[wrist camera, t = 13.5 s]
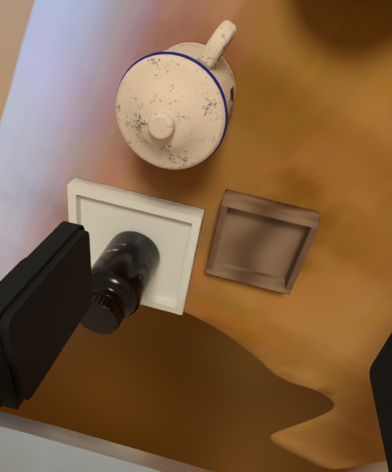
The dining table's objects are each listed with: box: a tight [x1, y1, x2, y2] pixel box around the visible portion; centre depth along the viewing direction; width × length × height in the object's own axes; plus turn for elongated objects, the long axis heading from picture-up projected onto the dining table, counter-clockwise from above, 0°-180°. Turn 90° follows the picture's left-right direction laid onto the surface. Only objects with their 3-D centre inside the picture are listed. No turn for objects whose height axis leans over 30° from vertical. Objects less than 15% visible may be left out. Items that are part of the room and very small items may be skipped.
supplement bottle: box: [80, 231, 160, 335], centre depth 43 cm, size 7×7×12 cm
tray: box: [67, 178, 205, 315], centre depth 48 cm, size 16×16×2 cm
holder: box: [206, 189, 320, 295], centre depth 43 cm, size 10×10×2 cm
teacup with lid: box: [115, 20, 236, 170], centre depth 31 cm, size 12×9×12 cm
